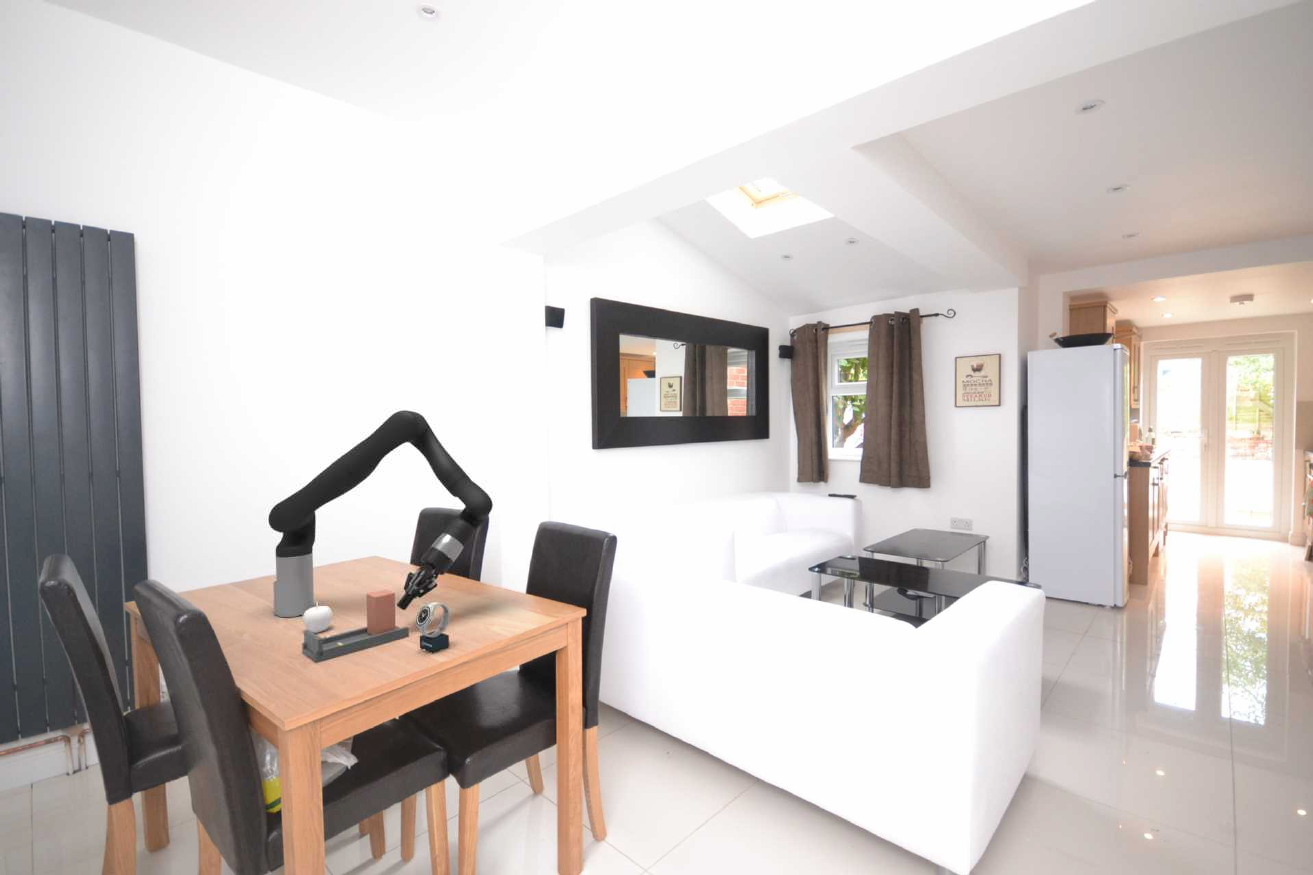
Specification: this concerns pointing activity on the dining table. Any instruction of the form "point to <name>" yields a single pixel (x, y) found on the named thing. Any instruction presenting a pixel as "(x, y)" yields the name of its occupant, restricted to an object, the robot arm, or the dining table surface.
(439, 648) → the watch
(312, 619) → the plain white apple
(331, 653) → the rail
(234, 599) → the dining table surface
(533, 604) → the dining table surface
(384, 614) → the block
